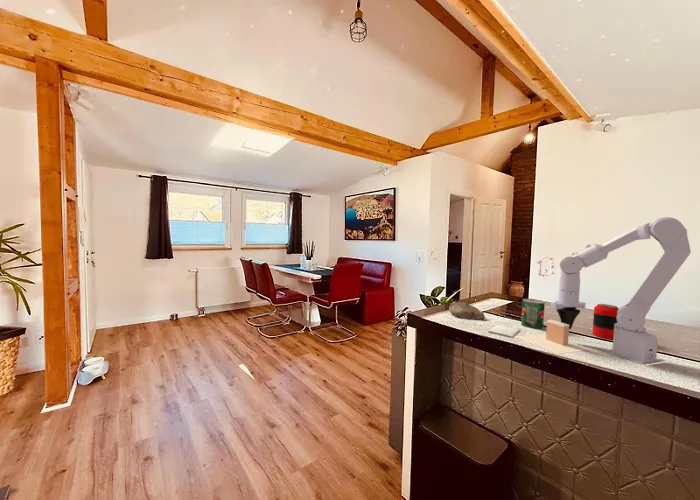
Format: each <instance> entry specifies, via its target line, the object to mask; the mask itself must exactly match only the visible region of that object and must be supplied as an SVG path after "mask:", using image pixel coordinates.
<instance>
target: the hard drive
mask: <svg viewBox="0 0 700 500" xmlns="http://www.w3.org/2000/svg"><path fill="white" fill-rule="evenodd" d="M520 331H521V328H516V327H512V326H507V325H503V324H496V325H495V326H493V327H492V328H491V329H488V330H487V333H490V334H493V335H496V336H502V337H507V338H511V339H512V338H514V337H515V336H517V334H518V333H519V332H520Z"/></svg>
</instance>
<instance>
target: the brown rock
mask: <svg viewBox="0 0 700 500" xmlns="http://www.w3.org/2000/svg"><path fill="white" fill-rule="evenodd" d="M448 311H449V313H450V314H451V315H453V316H454V317H457V318H460V319H466V320H471V319H472V320H481V321H482V320H483V319H484V318H485V313H484V312H483V311H482V310H479V309H478V308H477V307H476V306H474V305H471V304H470V303H467V302H463V301H461V302H460V301H458V302H451V303H450V304H449V307H448Z"/></svg>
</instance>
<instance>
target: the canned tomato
mask: <svg viewBox="0 0 700 500" xmlns="http://www.w3.org/2000/svg"><path fill="white" fill-rule="evenodd" d="M521 304H522V305H521V320H520V321H521V323H520V325H521V326H523V327H526V328H529V329H534V330H540V329H541V330H542V329H544V320H545V318H544V317H545V304H546V303H545V301H544V300H539V299H534V298H523V299H522V303H521Z"/></svg>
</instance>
